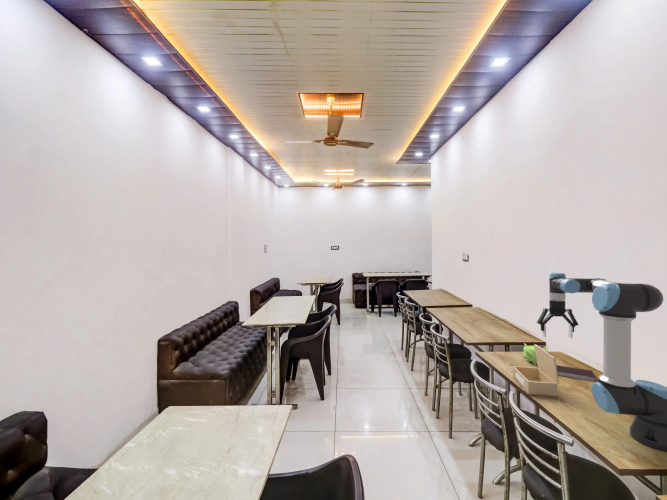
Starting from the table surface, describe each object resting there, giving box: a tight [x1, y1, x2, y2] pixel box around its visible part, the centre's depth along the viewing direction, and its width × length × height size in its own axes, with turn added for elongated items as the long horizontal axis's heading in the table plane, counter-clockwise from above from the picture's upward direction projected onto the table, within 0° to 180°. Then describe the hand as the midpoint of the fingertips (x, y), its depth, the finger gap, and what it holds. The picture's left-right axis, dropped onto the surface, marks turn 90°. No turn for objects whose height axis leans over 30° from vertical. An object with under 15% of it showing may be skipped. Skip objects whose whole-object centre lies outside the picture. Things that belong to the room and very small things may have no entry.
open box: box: [512, 365, 558, 397], centre depth 181 cm, size 22×14×7 cm, turn 170°
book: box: [556, 364, 597, 382], centre depth 197 cm, size 12×19×3 cm, turn 61°
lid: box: [533, 343, 560, 384], centre depth 180 cm, size 23×13×1 cm
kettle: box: [523, 343, 549, 365], centre depth 218 cm, size 15×14×11 cm
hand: (557, 337), depth 181 cm, fingers open, 13 cm apart
